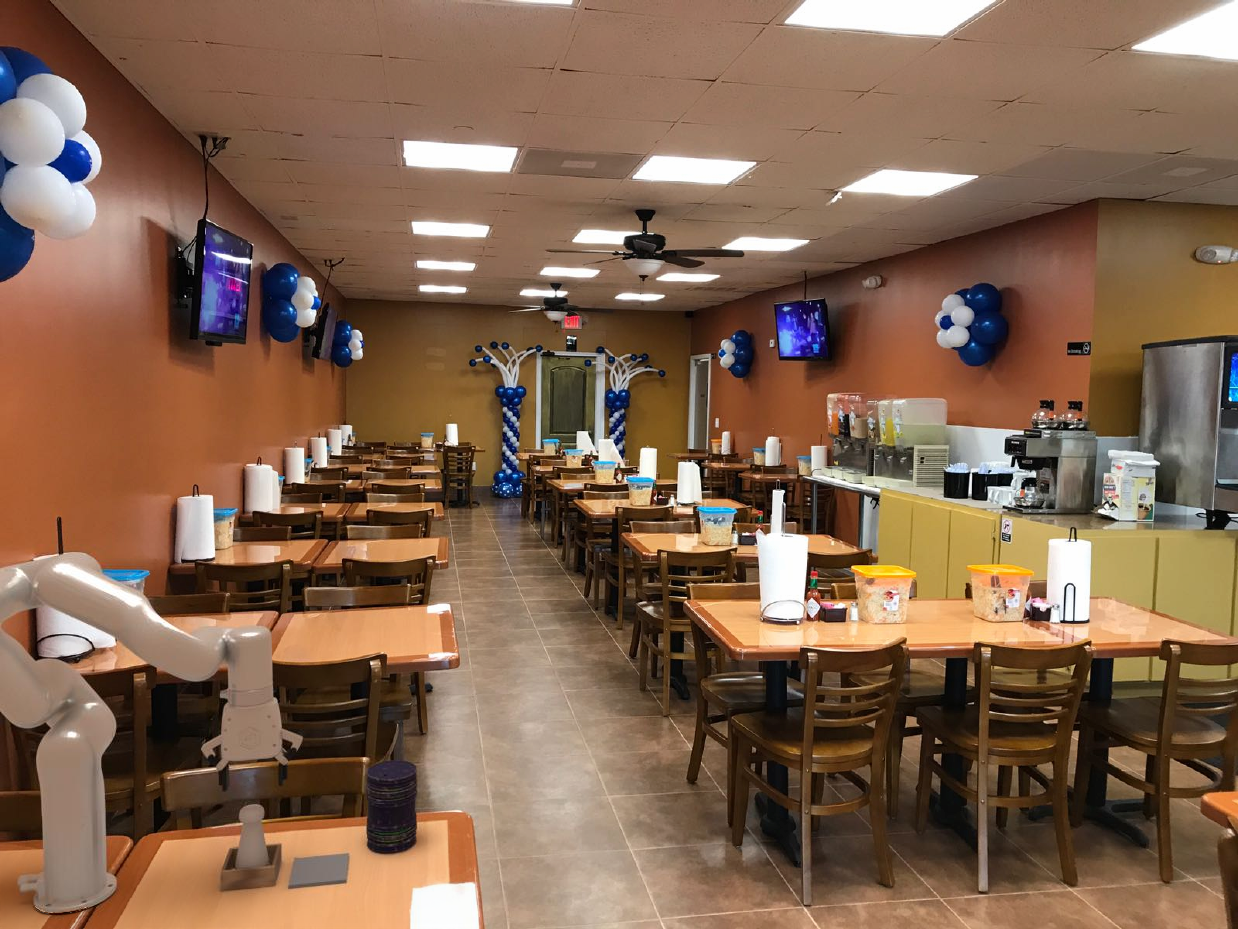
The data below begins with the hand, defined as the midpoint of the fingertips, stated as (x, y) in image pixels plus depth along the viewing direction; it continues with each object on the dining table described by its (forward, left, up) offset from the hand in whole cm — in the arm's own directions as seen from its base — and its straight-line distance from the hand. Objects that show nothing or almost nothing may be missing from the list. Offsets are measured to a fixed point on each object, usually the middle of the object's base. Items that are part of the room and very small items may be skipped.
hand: (254, 786), depth 168 cm
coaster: (+11, -1, -17) cm, 21 cm away
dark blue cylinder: (+24, +8, -17) cm, 31 cm away
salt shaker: (-1, 0, -17) cm, 17 cm away
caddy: (-1, 0, -17) cm, 17 cm away
